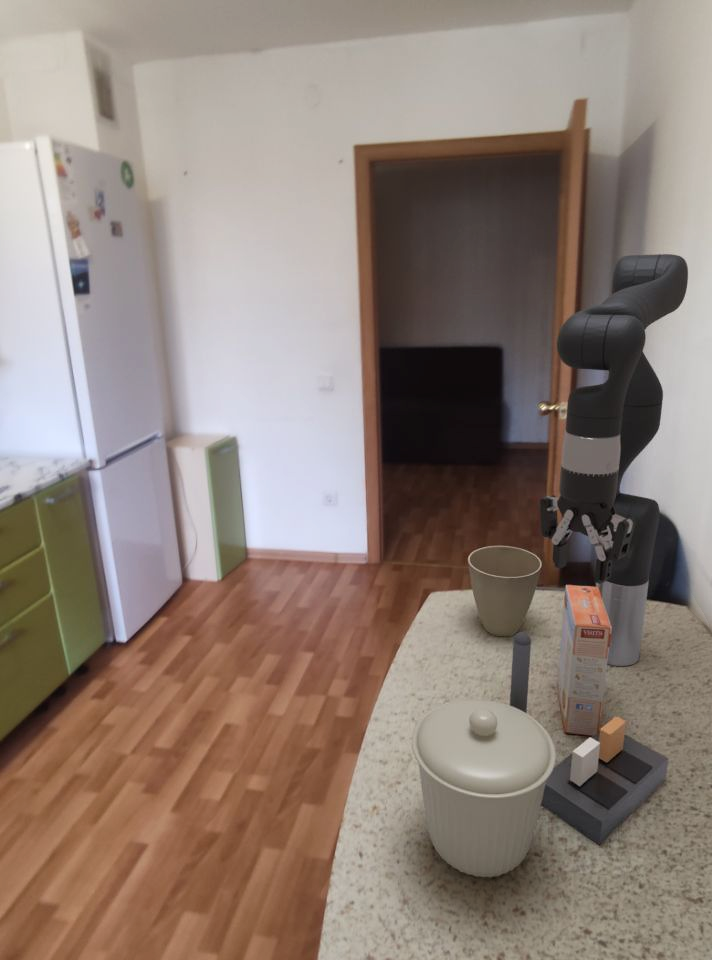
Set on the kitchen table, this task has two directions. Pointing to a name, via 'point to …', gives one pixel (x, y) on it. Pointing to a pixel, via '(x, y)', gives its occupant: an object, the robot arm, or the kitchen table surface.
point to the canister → (482, 782)
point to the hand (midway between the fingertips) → (580, 573)
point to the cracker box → (583, 659)
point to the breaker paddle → (611, 738)
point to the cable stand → (520, 671)
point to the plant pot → (503, 586)
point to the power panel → (605, 789)
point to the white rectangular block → (584, 761)
